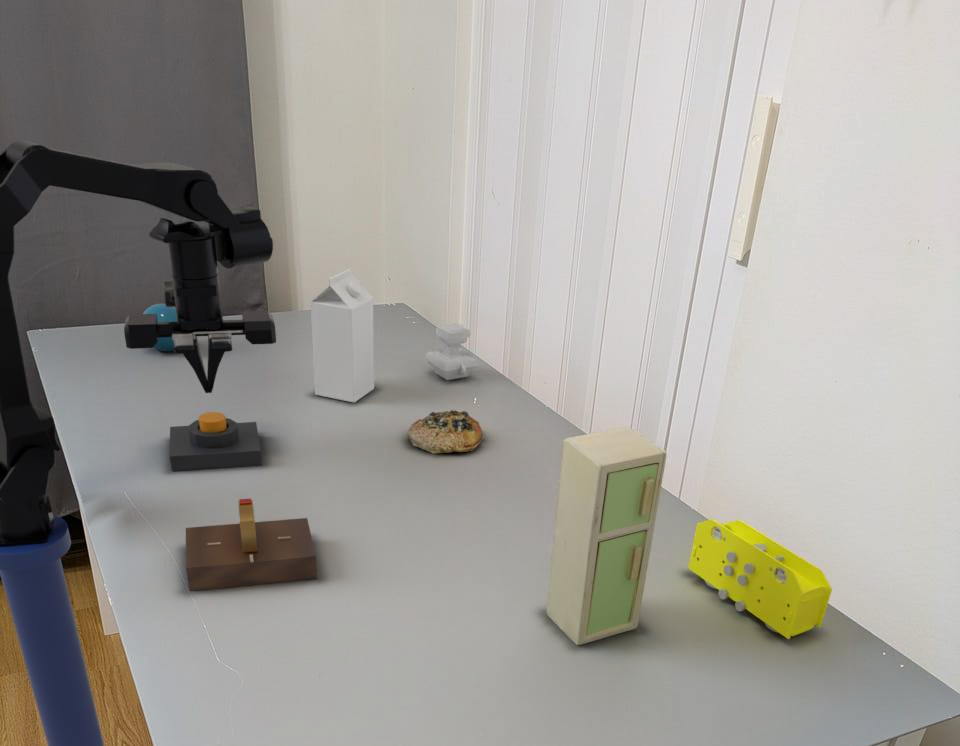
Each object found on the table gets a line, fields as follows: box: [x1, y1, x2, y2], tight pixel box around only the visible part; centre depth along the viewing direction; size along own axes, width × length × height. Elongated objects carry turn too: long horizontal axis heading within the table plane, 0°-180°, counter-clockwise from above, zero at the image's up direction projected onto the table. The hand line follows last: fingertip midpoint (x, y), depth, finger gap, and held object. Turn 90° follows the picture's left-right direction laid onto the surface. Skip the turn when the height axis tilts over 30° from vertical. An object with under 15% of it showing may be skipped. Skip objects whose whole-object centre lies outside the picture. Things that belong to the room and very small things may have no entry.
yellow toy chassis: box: [687, 518, 833, 640], centre depth 105 cm, size 16×6×8 cm, turn 31°
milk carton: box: [310, 267, 375, 403], centre depth 149 cm, size 7×7×19 cm
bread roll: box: [407, 409, 484, 454], centre depth 139 cm, size 11×11×5 cm
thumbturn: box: [237, 497, 258, 553], centre depth 107 cm, size 5×2×4 cm, turn 14°
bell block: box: [169, 417, 263, 472], centre depth 132 cm, size 12×10×4 cm
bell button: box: [198, 411, 227, 433], centre depth 131 cm, size 4×4×2 cm
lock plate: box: [184, 517, 318, 592], centre depth 109 cm, size 14×9×3 cm, turn 105°
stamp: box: [425, 322, 479, 381], centre depth 160 cm, size 9×7×8 cm
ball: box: [142, 303, 178, 352], centre depth 164 cm, size 8×8×8 cm
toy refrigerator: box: [546, 426, 667, 646], centre depth 97 cm, size 8×7×21 cm
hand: (208, 391), depth 128 cm, fingers closed
